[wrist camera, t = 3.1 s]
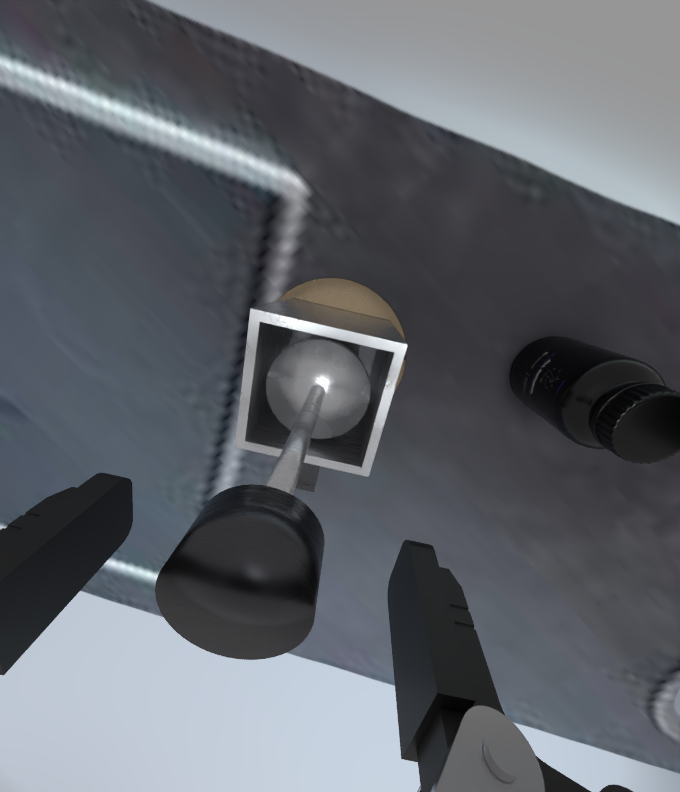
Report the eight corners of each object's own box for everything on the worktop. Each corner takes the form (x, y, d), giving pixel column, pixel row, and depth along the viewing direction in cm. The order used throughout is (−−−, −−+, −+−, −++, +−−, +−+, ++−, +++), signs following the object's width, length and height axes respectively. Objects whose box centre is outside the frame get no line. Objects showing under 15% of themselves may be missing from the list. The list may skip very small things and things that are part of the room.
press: (424, 297, 28) (466, 309, 17) (382, 438, 33) (393, 519, 22) (270, 261, 28) (209, 249, 17) (251, 408, 33) (195, 475, 22)
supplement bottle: (502, 349, 29) (589, 393, 18) (581, 325, 28) (726, 355, 17) (513, 414, 31) (599, 489, 20) (588, 394, 30) (722, 462, 19)
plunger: (381, 350, 20) (430, 521, 6) (356, 442, 23) (349, 721, 8) (277, 327, 20) (71, 442, 6) (263, 421, 22) (93, 668, 8)
